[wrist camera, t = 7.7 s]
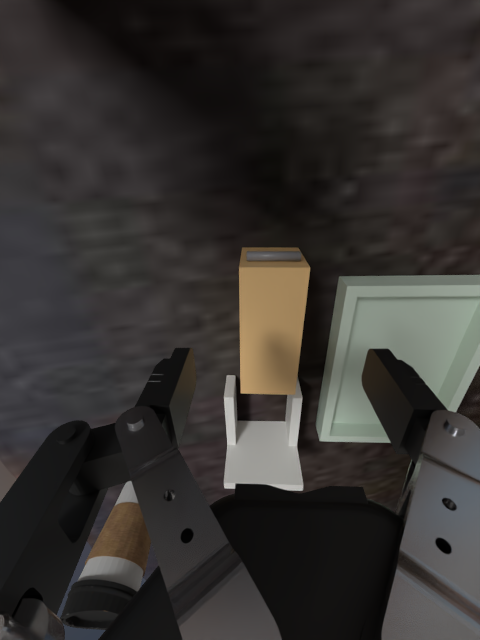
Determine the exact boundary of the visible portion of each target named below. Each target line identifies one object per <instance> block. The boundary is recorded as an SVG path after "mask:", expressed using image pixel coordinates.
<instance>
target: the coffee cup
mask: <svg viewBox="0 0 480 640" xmlns="http://www.w3.org/2000/svg"><path fill="white" fill-rule="evenodd" d="M150 544H151V540H150V537H149V534H148V531H147V527H146V524H145V521H144V518H143V515H142V512H141V509H140V506H139V503H138V500H137V497H136V494H135V491H134V488H133V485H132V482H131V481H128V482H127V483H126V484H125V486H124V488H123V490H122V492H121V494H120V496H119V498H118V500H117V502H116V504H115V506H114V508H113V510H112V512H111V513H110V515H109V517H108V519H107V521H106V523H105V525H104V527H103V529H102V531H101V533H100V535H99V537H98V539H97V541H96V543H95V544H94V546H93V548H92V550H91V552H90V554H89V556H88V558H87V560H86V562H85V568H84V570H83V572H82V574H81V576H80V578H79V580H78V582H76V583H74V584H73V585H72V587H71V591H70V592H69V594H68V598H67V601H66V605H65V607H64V610H63V613H62V616H61V617H60V620H61V621H62V623H64V624H65V625H67V626H70V627H75V628H86V629H101V630H106V629H107V628H108V627H109V626H110V624H111V623H112V622H113V621H114V620H115V618H116V617H117V616H118V615H119V613H120V612H121V611H122V610H123V609H124V607H125V606H126V605H127V604H128V602H129V601H130V600H131V599H132V598H133V596H134V595H135V594H136V593H137V591H138V590H139V589H140V585H141V580H142V577H143V576H144V574H145V569H146V564H147V559H148V554H149V549H150Z"/></svg>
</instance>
